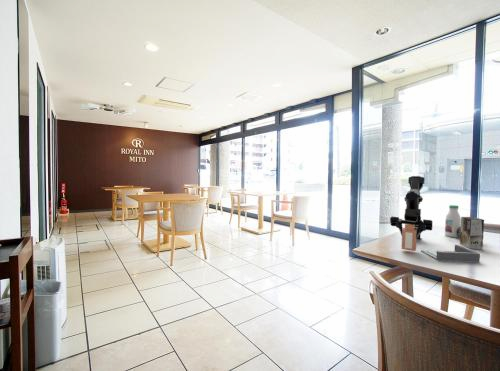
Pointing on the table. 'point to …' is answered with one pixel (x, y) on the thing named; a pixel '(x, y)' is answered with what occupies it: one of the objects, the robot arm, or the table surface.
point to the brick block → (409, 237)
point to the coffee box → (472, 232)
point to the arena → (455, 255)
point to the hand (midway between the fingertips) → (409, 236)
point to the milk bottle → (452, 221)
